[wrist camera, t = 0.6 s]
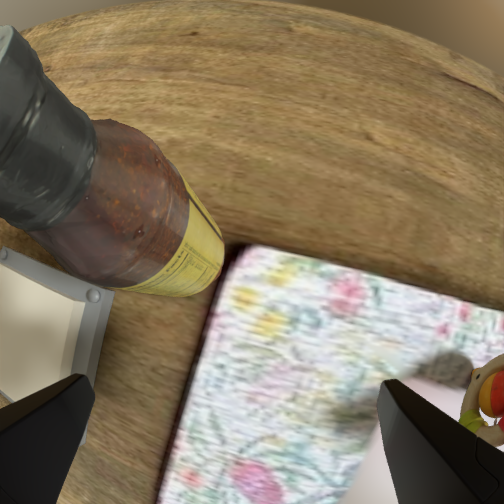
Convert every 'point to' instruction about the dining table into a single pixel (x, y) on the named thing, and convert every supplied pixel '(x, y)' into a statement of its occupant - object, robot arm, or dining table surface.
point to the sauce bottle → (97, 189)
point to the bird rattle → (485, 402)
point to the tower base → (91, 311)
